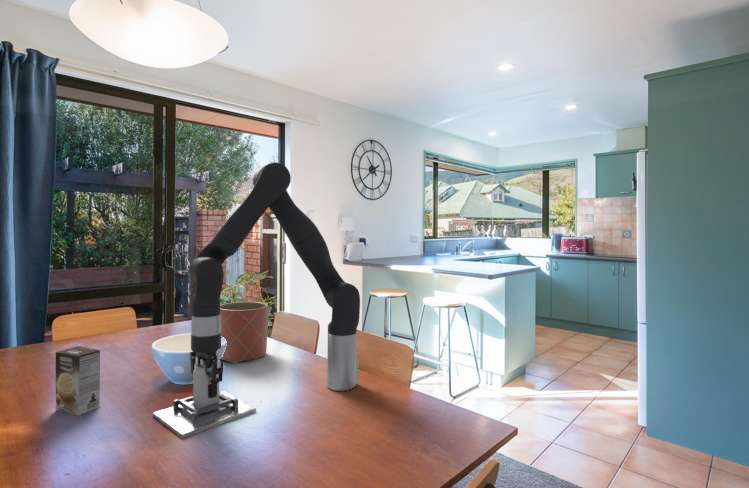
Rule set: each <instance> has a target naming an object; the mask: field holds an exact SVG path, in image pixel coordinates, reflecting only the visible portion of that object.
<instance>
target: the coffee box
mask: <svg viewBox="0 0 749 488" xmlns="http://www.w3.org/2000/svg"><path fill="white" fill-rule="evenodd" d="M100 386H101V349H95V348H90V347H84V346H80V345H77V346H74V347H69V348H65V349H63V350H59V351H56V352H55V411H57V412H61V413H65V414H69V415H73V416H78V417H79V416H81V414H82V415H84V414H86V413H88V412H89V413H90V411H93V409H94V410H96V409H99V408H100V407H101V406H100V405H101V403H100V401H101V398H100V397H101V396H100V395H101V387H100Z"/></svg>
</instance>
